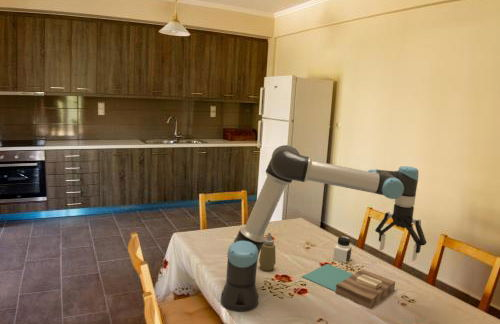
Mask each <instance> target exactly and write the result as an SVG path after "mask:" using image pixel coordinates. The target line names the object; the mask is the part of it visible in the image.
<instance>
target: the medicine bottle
mask: <svg viewBox="0 0 500 324" xmlns="http://www.w3.org/2000/svg"><path fill="white" fill-rule="evenodd" d="M350 242H351V240H350V238H349V237H347V236H339V237H338V239H337V244H336V245H335V246H334V247H333V258H332V259H333V261H336V260H337V262H341V263H343V262H344V263H343V264H347V263H348V262H349V261H350V260H351V255H352V246H351V245H350ZM349 259H350V260H349Z"/></svg>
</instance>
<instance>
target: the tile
mask: <svg viewBox="0 0 500 324" xmlns="http://www.w3.org/2000/svg"><path fill="white" fill-rule="evenodd" d="M356 282H357V283H359V284H362V285H364V286H367V287H369V288H372V289H374V290H376V289H377V288H379V287H380V286H381V285H382V281H380V280H377V279H374V278H372V277H369V276H367V275H364V274H362V275H361V276H359V277H357V278H356Z"/></svg>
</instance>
